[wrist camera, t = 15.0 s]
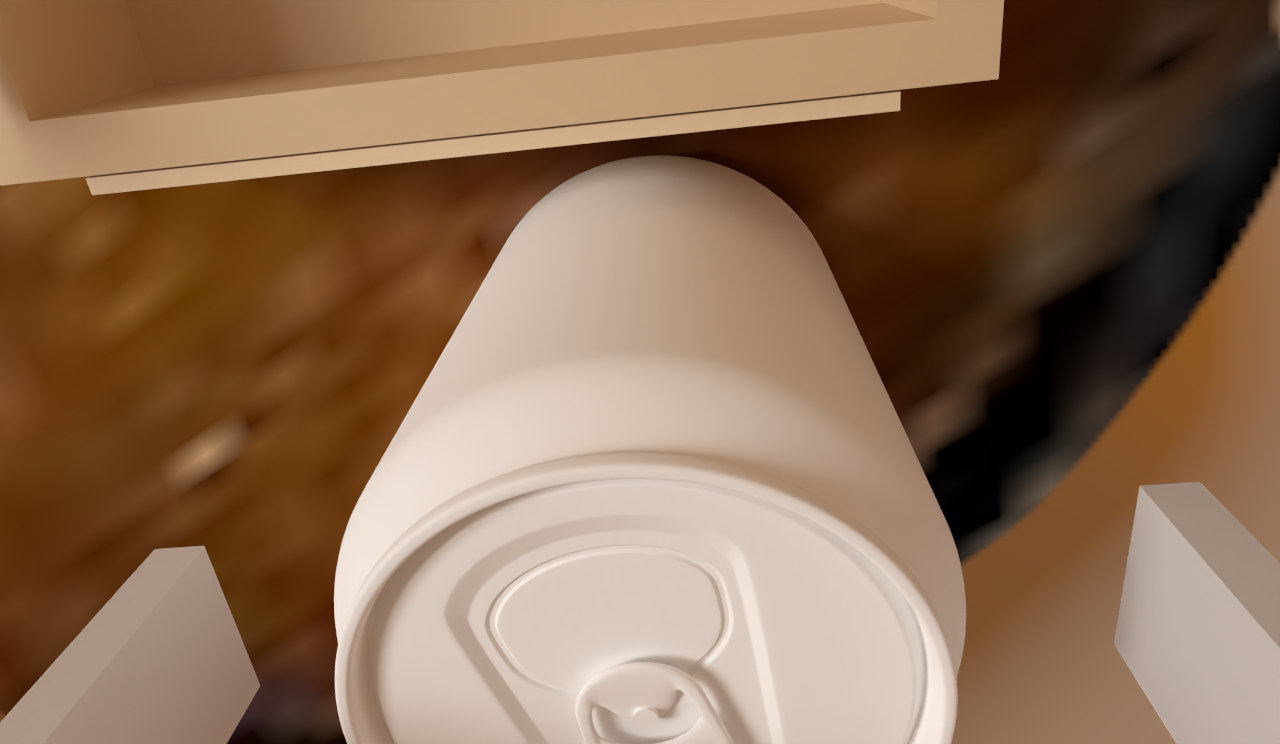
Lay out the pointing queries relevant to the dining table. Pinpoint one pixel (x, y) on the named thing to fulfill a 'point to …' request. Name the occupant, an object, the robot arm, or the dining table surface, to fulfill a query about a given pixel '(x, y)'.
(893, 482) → the beverage can
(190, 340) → the dining table surface
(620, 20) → the carton
